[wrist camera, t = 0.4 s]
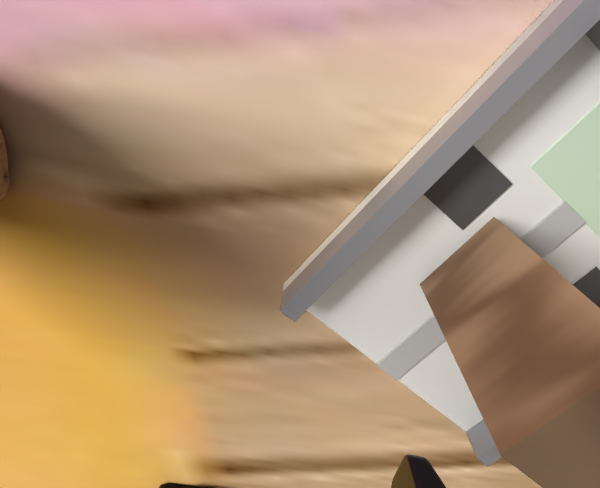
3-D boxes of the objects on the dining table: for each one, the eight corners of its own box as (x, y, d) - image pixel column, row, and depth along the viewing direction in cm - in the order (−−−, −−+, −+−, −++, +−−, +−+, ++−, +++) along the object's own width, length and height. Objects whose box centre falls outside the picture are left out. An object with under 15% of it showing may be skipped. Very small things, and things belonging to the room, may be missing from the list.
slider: (494, 347, 25) (619, 546, 15) (419, 284, 23) (500, 455, 13) (569, 288, 23) (768, 464, 13) (493, 216, 22) (650, 351, 12)
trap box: (471, 427, 29) (501, 497, 24) (283, 283, 25) (276, 332, 21) (758, 215, 23) (871, 254, 18) (567, -14, 19) (646, -37, 15)
